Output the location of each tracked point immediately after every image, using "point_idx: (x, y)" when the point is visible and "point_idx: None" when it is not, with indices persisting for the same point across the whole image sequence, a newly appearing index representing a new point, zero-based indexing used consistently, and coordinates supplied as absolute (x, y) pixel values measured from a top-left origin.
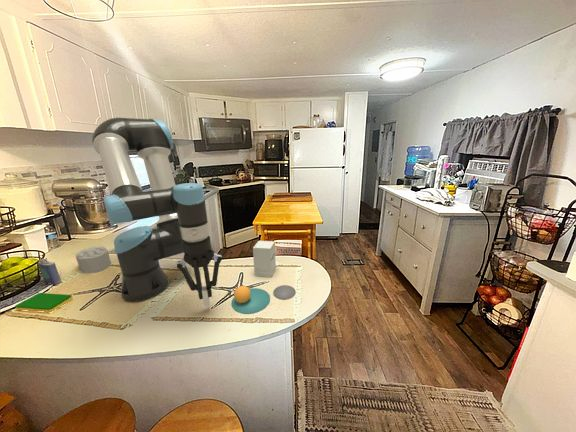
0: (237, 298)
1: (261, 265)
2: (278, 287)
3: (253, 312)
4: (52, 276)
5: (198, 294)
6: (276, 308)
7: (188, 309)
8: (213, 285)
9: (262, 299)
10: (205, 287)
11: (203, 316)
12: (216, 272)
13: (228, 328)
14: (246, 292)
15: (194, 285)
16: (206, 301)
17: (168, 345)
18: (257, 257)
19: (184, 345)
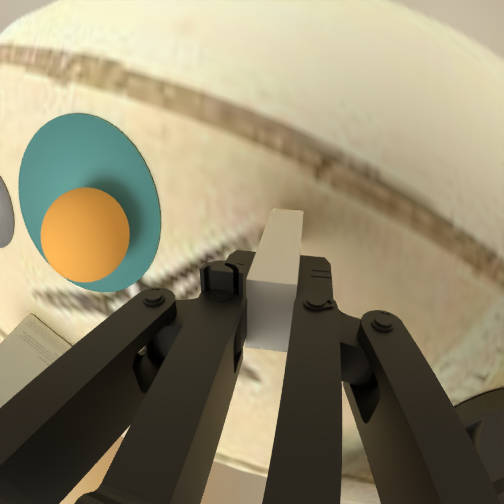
0: (101, 204)
1: (30, 367)
2: (2, 241)
3: (70, 114)
4: None
5: (331, 283)
6: (8, 122)
7: (386, 278)
8: (166, 295)
9: (38, 192)
10: (258, 325)
11: (317, 183)
12: (41, 390)
13: (187, 37)
14: (46, 214)
15: (358, 363)
16: (280, 229)
17: (480, 64)
18: None
19: (414, 19)
